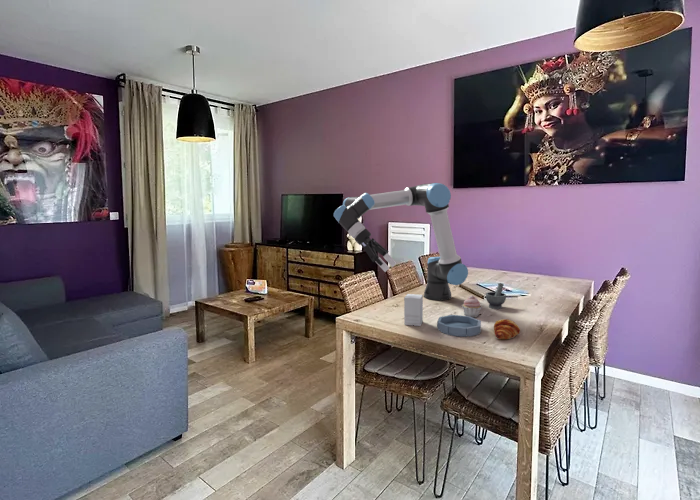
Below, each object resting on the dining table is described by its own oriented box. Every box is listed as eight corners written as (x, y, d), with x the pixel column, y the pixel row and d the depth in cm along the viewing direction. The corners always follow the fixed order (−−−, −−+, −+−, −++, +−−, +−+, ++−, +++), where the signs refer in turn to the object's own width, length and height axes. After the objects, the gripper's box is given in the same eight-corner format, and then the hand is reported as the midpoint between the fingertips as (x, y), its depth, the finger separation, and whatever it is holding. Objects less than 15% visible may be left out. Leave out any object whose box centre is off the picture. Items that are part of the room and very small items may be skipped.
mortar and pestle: (499, 311, 197) (500, 287, 195) (481, 307, 203) (482, 284, 202) (509, 306, 204) (511, 283, 202) (492, 303, 211) (493, 281, 209)
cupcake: (472, 319, 183) (473, 298, 182) (457, 314, 191) (457, 294, 190) (486, 316, 188) (486, 295, 187) (470, 311, 196) (471, 291, 195)
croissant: (505, 333, 175) (497, 316, 176) (527, 327, 169) (519, 309, 171) (491, 348, 158) (483, 329, 159) (516, 341, 152) (506, 321, 153)
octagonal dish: (440, 320, 182) (440, 313, 182) (481, 324, 176) (481, 317, 175) (434, 333, 165) (434, 325, 165) (480, 338, 159) (480, 330, 159)
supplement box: (423, 321, 182) (423, 294, 180) (420, 326, 175) (420, 298, 173) (406, 320, 184) (407, 293, 182) (403, 325, 177) (404, 297, 175)
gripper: (362, 236, 197) (392, 268, 194) (345, 242, 174) (377, 278, 171) (373, 226, 194) (402, 258, 191) (356, 230, 171) (390, 266, 168)
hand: (391, 267), depth 181 cm, fingers open, 13 cm apart
